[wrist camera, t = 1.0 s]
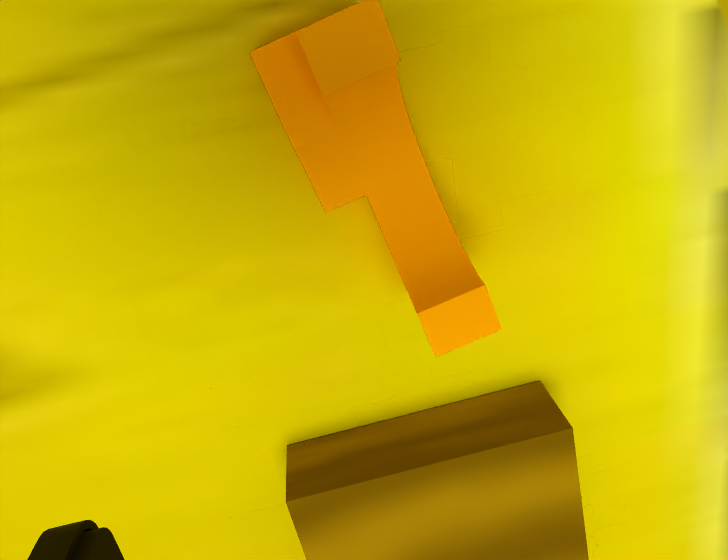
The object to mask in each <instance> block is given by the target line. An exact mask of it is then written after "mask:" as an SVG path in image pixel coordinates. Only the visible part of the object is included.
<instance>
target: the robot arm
mask: <svg viewBox="0 0 728 560" xmlns="http://www.w3.org/2000/svg"><path fill="white" fill-rule="evenodd" d="M28 560H124V558H123V556H122V553H121V551H120V549H119V547H118V545H117V543H116V541H115V539H114V537H113V534H112V533H111V531H110V530H109V529H108V528H104V527H103V528H98V526H97V525H96V523H94V522H93V521H92V520H85V521H80V522H76V523H72V524H68V525H63V526H59V527H55V528H51V529H48V530H46V531H44V532H43V533H42V534H41V536H40V537H39V539H38V541H37V543H36V544H35V546H34V548H33V550H32V552H31V554H30V556H29V558H28Z"/></svg>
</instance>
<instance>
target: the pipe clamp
mask: <svg viewBox="0 0 728 560" xmlns="http://www.w3.org/2000/svg"><path fill="white" fill-rule="evenodd" d="M249 54H250V56H251V58H252V60H253V62H254V64H255V67H256V69H257V71H258V73H259V75H260V77H261V79H262V82H263V84H264V86H265V88H266V90H267V92H268V95H269V97H270V99H271V101H272V103H273V105H274V107H275V110H276V112H277V114H278V116H279V118H280V120H281V122H282V125H283V127H284V129H285V131H286V133H287V135H288V137H289V140H290V142H291V144H292V146H293V148H294V150H295V152H296V154H297V156H298V157H299V159H300V161H301V163H302V165H303V167H304V169H305V171H306V173H307V175H308V177H309V179H310V181H311V183H312V185H313V187H314V189H315V192H316V194H317V196H318V198H319V200H320V202H321V204H322V207H323V209H324V211H325V213H326V212H328V211H331V210H333V209H335V208H338V207H340V206H342V205H344V204H347V203H349V202H351V201H353V200H356V199H358V198H360V197H363V196H365V195H367V198H368V200H369V202H370V205H371V207H372V209H373V212H374V214H375V216H376V219H377V221H378V223H379V226H380V228H381V230H382V233H383V235H384V237H385V240H386V242H387V244H388V247H389V249H390V251H391V254H392V256H393V258H394V261H395V263H396V265H397V268H398V270H399V272H400V275H401V277H402V279H403V282H404V284H405V286H406V289H407V291H408V293H409V296H410V298H411V300H412V303H413V305H414V307H415V310H416V312H417V314H418V317H419V319H420V321H421V324H422V326H423V328H424V331H425V333H426V335H427V338H428V340H429V342H430V345H431V347H432V349H433V352H434V354H435V356H436V357H437V356H440V355H442V354H444V353H447V352H449V351H452V350H454V349H456V348H459V347H461V346H463V345H466V344H468V343H471V342H473V341H475V340H478V339H480V338H483V337H485V336H487V335H490V334H492V333H495V332H497V331H499V330H502V329H501V327H500V324H499V321H498V319H497V316H496V313H495V311H494V308H493V305H492V303H491V300H490V297H489V295H488V292H487V289H486V287H485V284H484V283H483V281H482V280H481V279H480V277H479V275H478V274H477V272H476V270H475V269H474V267H473V265H472V264H471V262H470V260H469V258H468V256H467V254H466V253H465V251H464V249H463V247H462V245H461V243H460V241H459V239H458V237H457V235H456V233H455V231H454V229H453V226H452V224H451V222H450V220H449V218H448V216H447V214H446V211H445V209H444V207H443V205H442V202H441V200H440V198H439V196H438V193H437V191H436V188H435V186H434V184H433V181H432V179H431V176H430V174H429V171H428V169H427V166H426V164H425V161H424V159H423V156H422V154H421V151H420V148H419V145H418V143H417V140H416V137H415V134H414V131H413V129H412V126H411V123H410V120H409V116H408V113H407V110H406V107H405V103H404V100H403V96H402V92H401V88H400V84H399V79H398V73H397V63H398V61H400V60H401V59H400V56H399V54H398V51H397V48H396V46H395V43H394V40H393V38H392V35H391V32H390V30H389V27H388V24H387V22H386V19H385V16H384V13H383V11H382V8H381V5H380V3H379V0H363V1H361V2H358V3H356V4H354V5H351V6H349V7H347V8H345V9H343V10H341V11H338V12H336V13H334V14H332V15H330V16H327V17H325V18H323V19H321V20H319V21H317V22H314V23H312V24H310V25H308V26H306V27H304V28H301V29H299V30H297V31H295V32H293V33H290V34H288V35H286V36H284V37H282V38H280V39H277V40H275V41H273V42H271V43H269V44H266V45H264V46H262V47H260V48H258V49H256V50H254V51H252V52H250V53H249Z"/></svg>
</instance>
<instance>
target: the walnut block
mask: <svg viewBox="0 0 728 560" xmlns="http://www.w3.org/2000/svg"><path fill="white" fill-rule="evenodd" d="M286 504H287V506H288V509H289V512H290V515H291V518H292V520H293V523H294V526H295V529H296V531H297V534H298V537H299V540H300V542H301V545H302V548H303V551H304V554H305V556H306V559H307V560H589V559H588V550H587V542H586V534H585V526H584V517H583V509H582V501H581V493H580V485H579V476H578V468H577V460H576V452H575V443H574V435H573V428H572V426H571V425H570V424H569V422H568V421H567V419H566V418H565V416H564V415H563V413H562V412H561V410H560V409H559V408H558V406H557V405H556V403H555V402H554V400H553V399H552V397H551V396H550V395H549V393H548V392H547V390H546V389H545V387H544V386H543V384H542V383H541V382H540V381H537V382H533V383H529V384H525V385H521V386H517V387H513V388H510V389H506V390H502V391H498V392H494V393H490V394H486V395H482V396H478V397H475V398H471V399H467V400H463V401H459V402H455V403H451V404H447V405H443V406H440V407H436V408H432V409H428V410H424V411H420V412H416V413H412V414H408V415H405V416H401V417H397V418H393V419H389V420H385V421H381V422H377V423H373V424H369V425H366V426H362V427H358V428H354V429H350V430H346V431H342V432H338V433H334V434H331V435H327V436H323V437H319V438H315V439H311V440H307V441H303V442H299V443H296V444H292V445H288V446H287V469H286Z"/></svg>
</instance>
